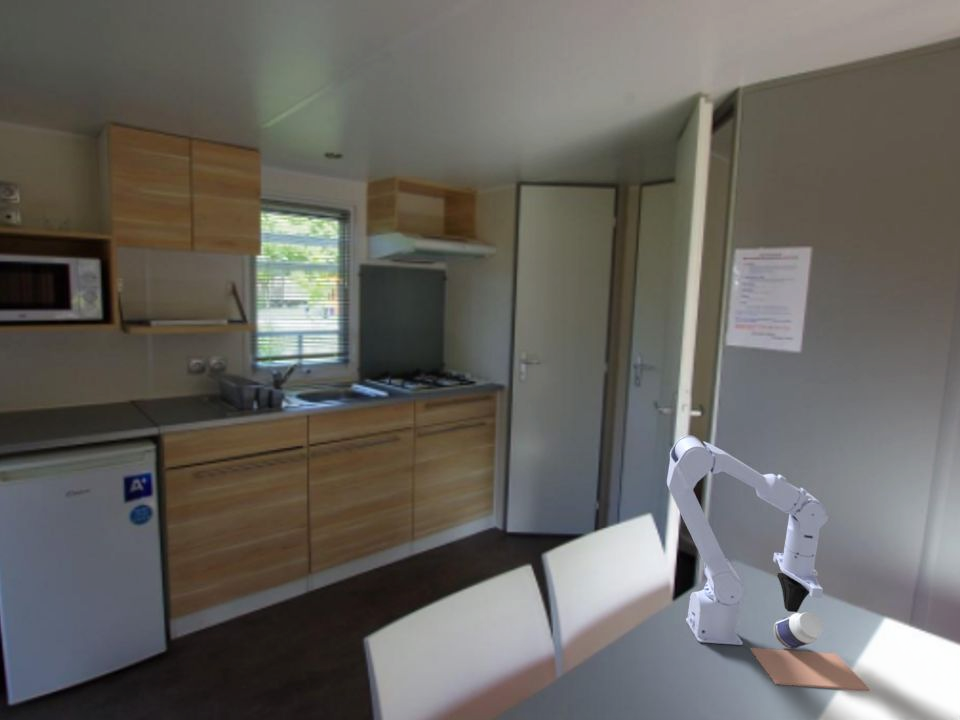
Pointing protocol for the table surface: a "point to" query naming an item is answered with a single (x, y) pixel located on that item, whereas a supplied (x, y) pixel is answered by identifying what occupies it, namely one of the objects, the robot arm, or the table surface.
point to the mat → (808, 669)
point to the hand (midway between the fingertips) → (791, 609)
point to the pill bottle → (798, 630)
